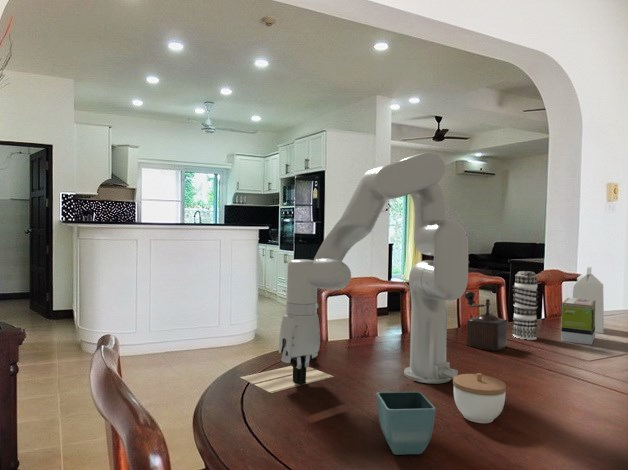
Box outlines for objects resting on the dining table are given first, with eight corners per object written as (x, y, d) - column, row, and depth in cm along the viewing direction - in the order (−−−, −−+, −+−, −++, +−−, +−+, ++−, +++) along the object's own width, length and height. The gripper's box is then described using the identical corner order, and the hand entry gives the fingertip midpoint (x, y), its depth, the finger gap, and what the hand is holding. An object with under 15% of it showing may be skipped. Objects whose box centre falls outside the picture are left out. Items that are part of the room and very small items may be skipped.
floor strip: (315, 373, 125) (315, 369, 125) (253, 389, 112) (253, 383, 112) (300, 367, 130) (300, 363, 130) (239, 382, 117) (239, 377, 117)
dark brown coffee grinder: (508, 346, 161) (509, 294, 160) (496, 352, 152) (497, 298, 152) (465, 338, 171) (467, 290, 171) (452, 343, 163) (453, 292, 163)
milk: (603, 333, 185) (605, 269, 184) (570, 329, 191) (572, 267, 191) (603, 328, 195) (605, 267, 194) (572, 324, 201) (574, 265, 201)
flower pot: (374, 438, 88) (375, 391, 87) (419, 437, 88) (420, 390, 88) (385, 461, 79) (386, 409, 79) (435, 460, 80) (436, 408, 79)
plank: (333, 380, 120) (333, 376, 120) (270, 397, 107) (270, 392, 107) (316, 373, 125) (316, 369, 125) (254, 388, 112) (254, 384, 112)
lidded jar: (476, 431, 91) (478, 384, 91) (441, 411, 101) (442, 369, 101) (516, 423, 96) (518, 378, 96) (479, 405, 105) (480, 364, 105)
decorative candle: (508, 333, 180) (510, 270, 180) (533, 335, 179) (535, 271, 179) (515, 339, 171) (517, 272, 171) (541, 340, 170) (543, 273, 170)
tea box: (566, 333, 183) (567, 296, 182) (595, 338, 177) (596, 299, 176) (560, 341, 170) (561, 301, 170) (591, 345, 164) (593, 304, 164)
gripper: (314, 304, 122) (312, 373, 122) (268, 309, 112) (265, 384, 112) (333, 308, 116) (331, 381, 116) (286, 314, 106) (284, 393, 106)
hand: (299, 382), depth 114 cm, fingers closed
